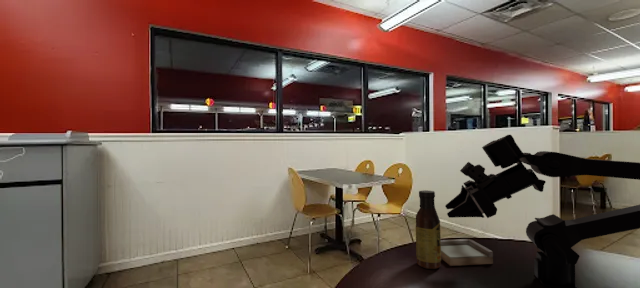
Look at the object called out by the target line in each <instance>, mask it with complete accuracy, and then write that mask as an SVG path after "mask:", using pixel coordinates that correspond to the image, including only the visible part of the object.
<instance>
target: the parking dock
mask: <svg viewBox="0 0 640 288" xmlns="http://www.w3.org/2000/svg"><path fill="white" fill-rule="evenodd" d="M493 252H494V251H492V250H491V249H489V248H488V247H485V246H484V245H482V244H480V243H478V242H476V241H475V240H473V239H472V238H471V239H470V238H461V239H460V238H459V239H443V240H442V239H441V261H444V262H445V263H446V264H447V265H448V266H450V267H452V266H453V267H454V266H455V267H456V266H473V265H493V264H494V253H493Z"/></svg>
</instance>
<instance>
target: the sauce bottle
mask: <svg viewBox="0 0 640 288" xmlns="http://www.w3.org/2000/svg"><path fill="white" fill-rule="evenodd" d="M435 197H436V192H435V191H434V190H426V189H425V190H424V189H423V190H419V191H418V198H419V209H418V211H417V212H416V215H415V253H416V264H417V265H418V266H419V267H421V268H424V269H426V270H436V269H439V268H440V267H441V265H442V264H441V263H442V262H441V261H442V259H441V240H442V239H441V238H442V237H441V221H440V218H439V216H438V213H437V209H436V206H435Z"/></svg>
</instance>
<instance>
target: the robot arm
mask: <svg viewBox="0 0 640 288" xmlns="http://www.w3.org/2000/svg"><path fill="white" fill-rule="evenodd" d="M481 148H482V150H483V151H484V153H485V154H486V156H487V157H488V158H489V160H490V161H491V163H492V164H493V166H494V168H495V167H496V168H497V167H500V168H501V169H504V170H503V171H500V172H498V173H496V174H494V173H490V174H488V175H487V174H486V173H485V171H486V168H485V167H484V166H483V165H481V164H476V165H474V164H472V163H471V162H470V161H468V162H466V163H465V164H464V165H463V167H461V169H460V170H459V171H460V173H462V174H463V175H464V176H466V177H469V178H470V179H471V180H470V179H469V180H466V181H465V182H463V183H462V185H461V188H460V192H459V193H458V194H457V195H456V196H454V198H453V199H451V200H450V201H449V202H447V203H446V204H445V209H446V210H450V211H448V212H447V213H446V215H447V217H448V218H482V219H483V218H485V217H486V218H487V219H489V218H492V217H493V216H496V215H497V211H498V208H497V206H496V205H495V203H497V202H499V201H502V200H503V199H505V198H506V199H507V200H509V199H511V198H512V197H513V196H512V195H514V194H516V193H519V192H521V191H523V190H525V189H528V188H530V187H533V189H534V190H536V191H538V192H540V193H542V192H544V188H545V184H546V183H547V182H546V180H543V179H540V178H539V177H538V176H537V175H536V174H538V175H542V176H546V177H549V178H564V177H565V178H570V177H576V176H577V177H578V176H593V177H594V176H595V177H602V178H604V177H606V178H615V179H627V180H628V179H629V180H638V181H640V162H638V161H637V162H635V161H621V160H609V159H593V158H584V157H580V156H576V155H575V156H574V155H570V154H567V153H562V152H557V151H546V150H545V151H544V150H543V151H542V150H541V151H537V152H535V153H534V154H531V153H530V152H523V151H522V149H521V148H520V147H519V145H518V144H517V143H516V141H515V138H514V137H513V136H512V134H507V135H504V136H503V137H500V138H498V139H496V140H491V141H490V142H488V143H487V144H484V145H483V146H482V147H481ZM524 164H525V165H528V166H530V168H527V167H526V166H525V165H524ZM484 215H485V216H484ZM534 219H535V220H533V221H531V222H529V223H528V225H527V226H526V228H525V234H526V237H527V238H528V240H530V241H531V243H533V244H534V245H535V246H536V248H537V250H539V251H536V257H534V258H533V267H534V268H533V270H534V271H533V274H534V276H535V277H536V278H537V279H538V281H539V282H540V283H541V284H542V285H543V286H545V287H549V288H580V287H578V285H577V284H576V264H577V263H578V261H579V259H580V254H578V253H577V252H576V251H575V250H574V249H573V247H575V246H576V245H577V244H578V243H580V242H581V241H584V240H589V239H594V238H598V237H603V236H609V235H613V234H618V233H623V232H628V231H635V230H638V229H640V204H636V205H632V206H627V207H623V208H618V209H614V210H610V211H609V210H608V211H606V212H601V213H596V214H595V213H594V214H590V215H587V216H582V217H577V218H573V219H562V218H561V217H560V216H557V215H556V214H554V213H553V214H549V215H546V216H544V217H535V218H534Z"/></svg>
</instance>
